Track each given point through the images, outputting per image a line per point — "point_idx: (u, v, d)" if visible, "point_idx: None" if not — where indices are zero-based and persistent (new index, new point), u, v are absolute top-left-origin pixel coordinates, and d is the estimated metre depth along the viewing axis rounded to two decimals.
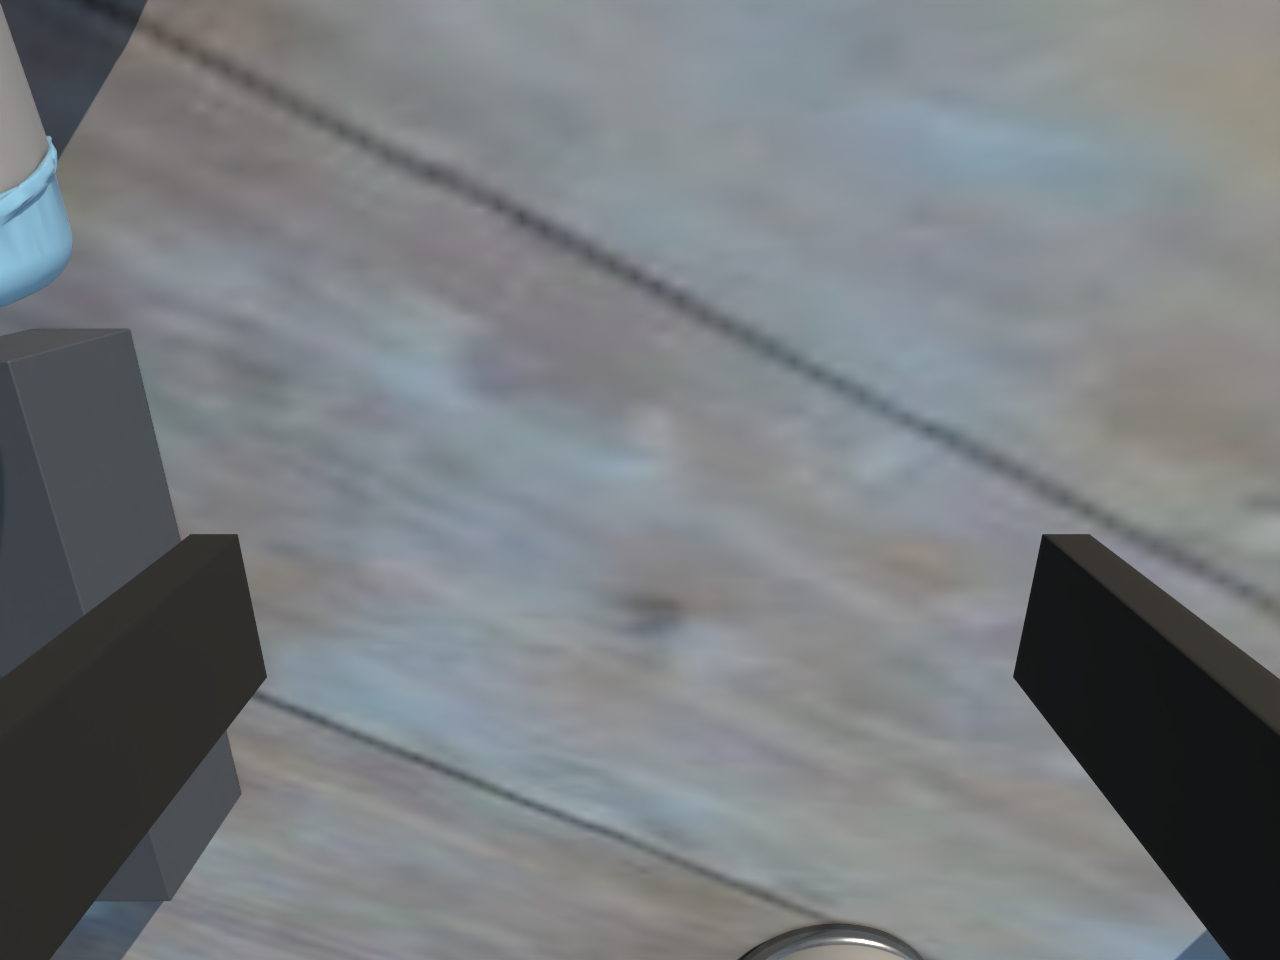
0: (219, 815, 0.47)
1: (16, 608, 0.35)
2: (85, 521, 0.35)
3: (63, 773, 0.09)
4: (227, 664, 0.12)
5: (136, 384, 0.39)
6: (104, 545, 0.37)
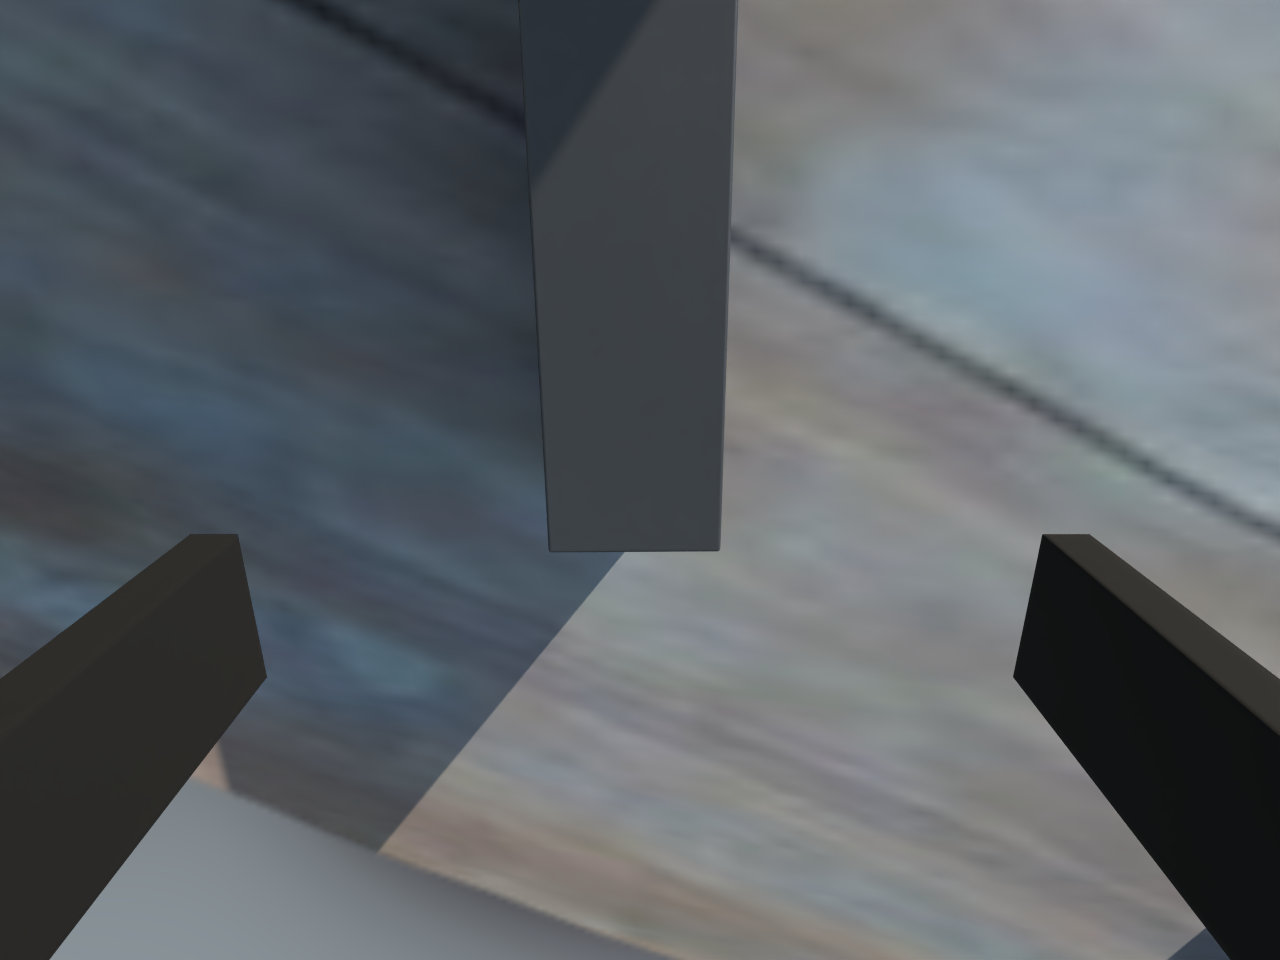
0: None
1: None
2: None
3: (62, 773, 0.09)
4: (227, 664, 0.12)
5: None
6: None
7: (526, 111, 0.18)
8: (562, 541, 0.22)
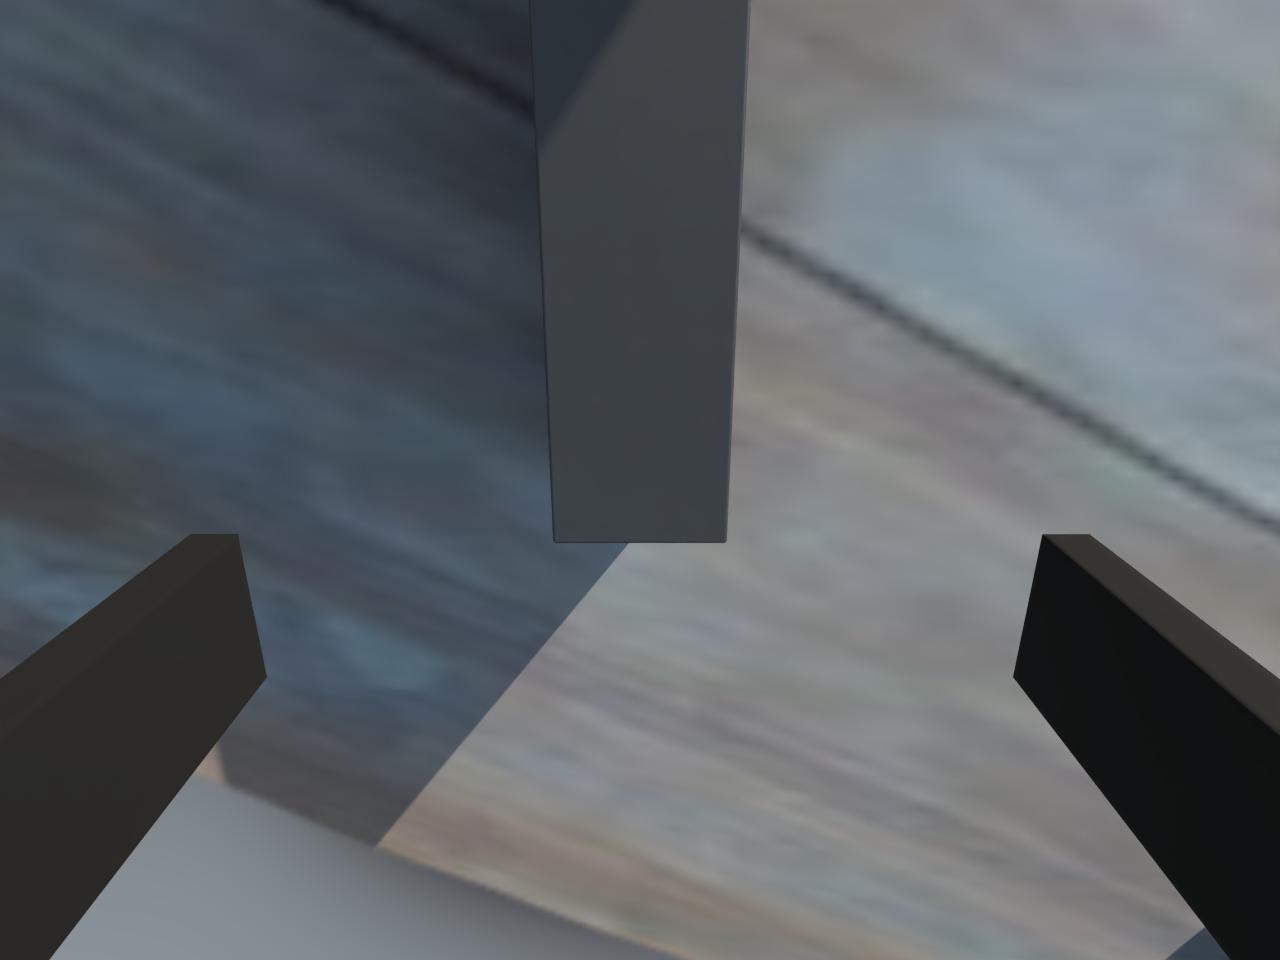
0: None
1: None
2: None
3: (63, 773, 0.09)
4: (227, 664, 0.12)
5: None
6: None
7: (535, 93, 0.18)
8: (567, 532, 0.22)
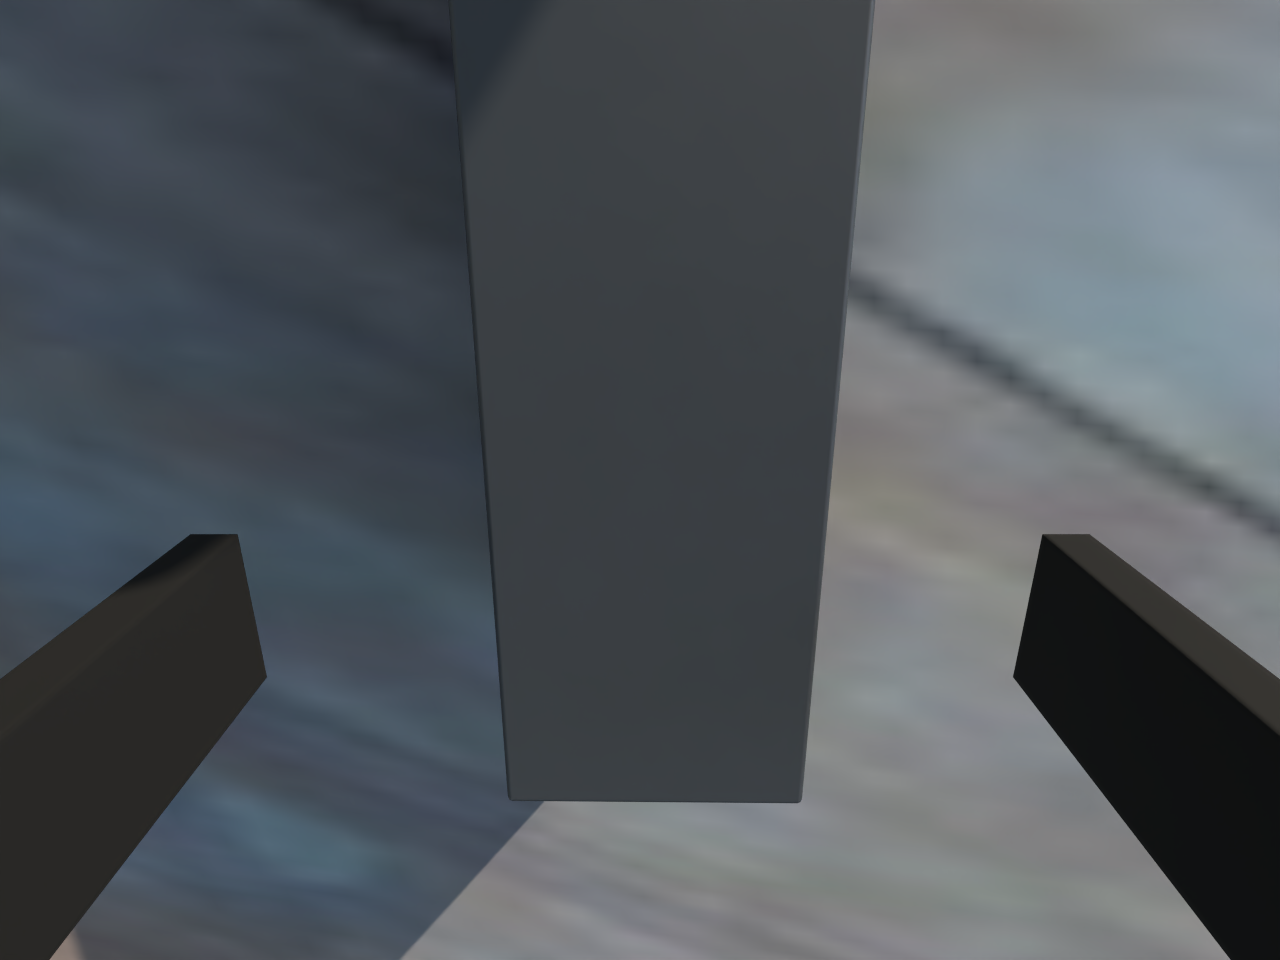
0: None
1: None
2: None
3: (63, 773, 0.09)
4: (227, 664, 0.12)
5: None
6: None
7: (453, 17, 0.09)
8: (531, 785, 0.13)
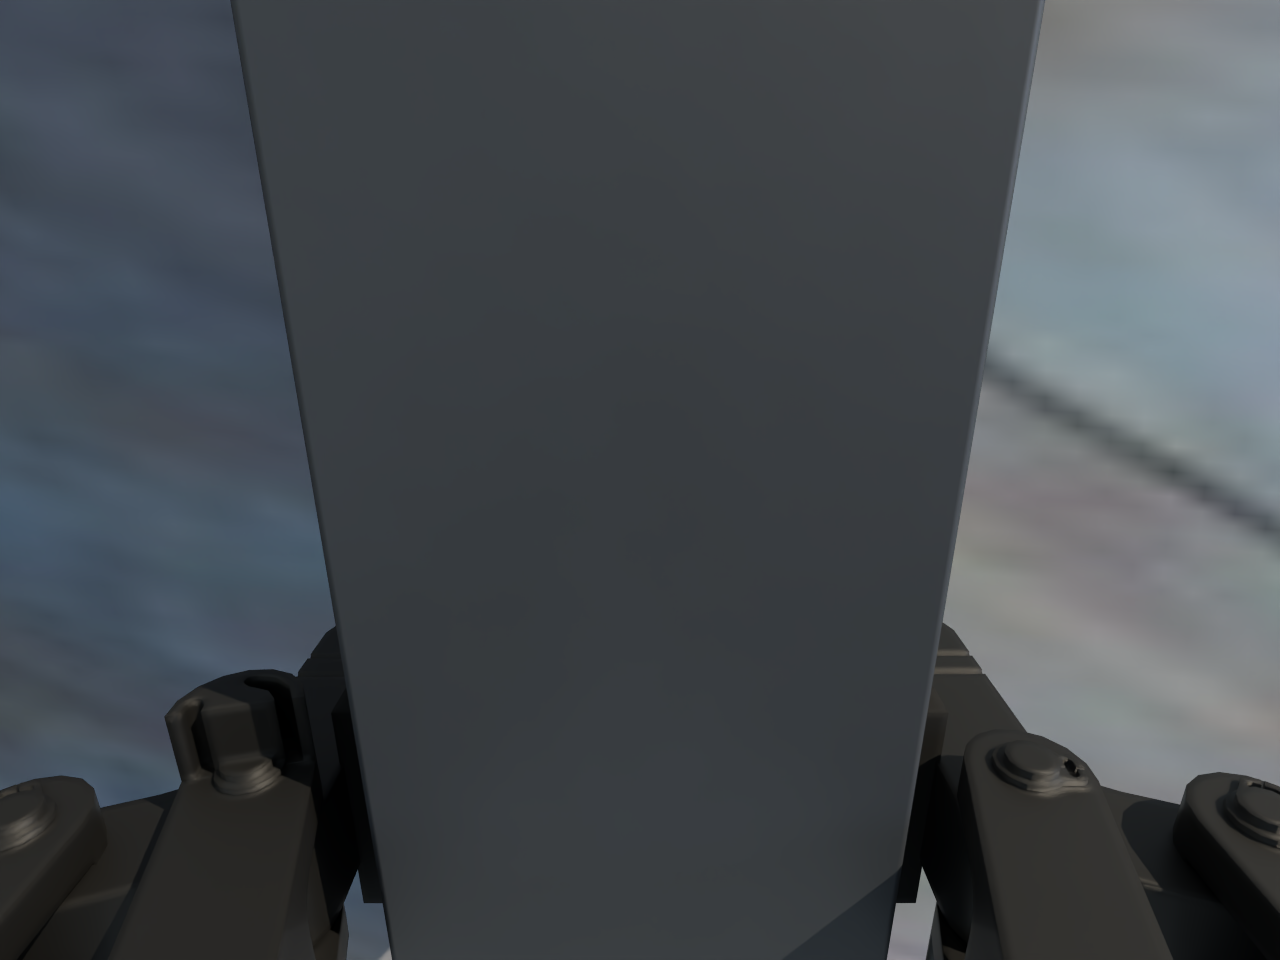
0: None
1: None
2: None
3: None
4: None
5: None
6: None
7: None
8: None
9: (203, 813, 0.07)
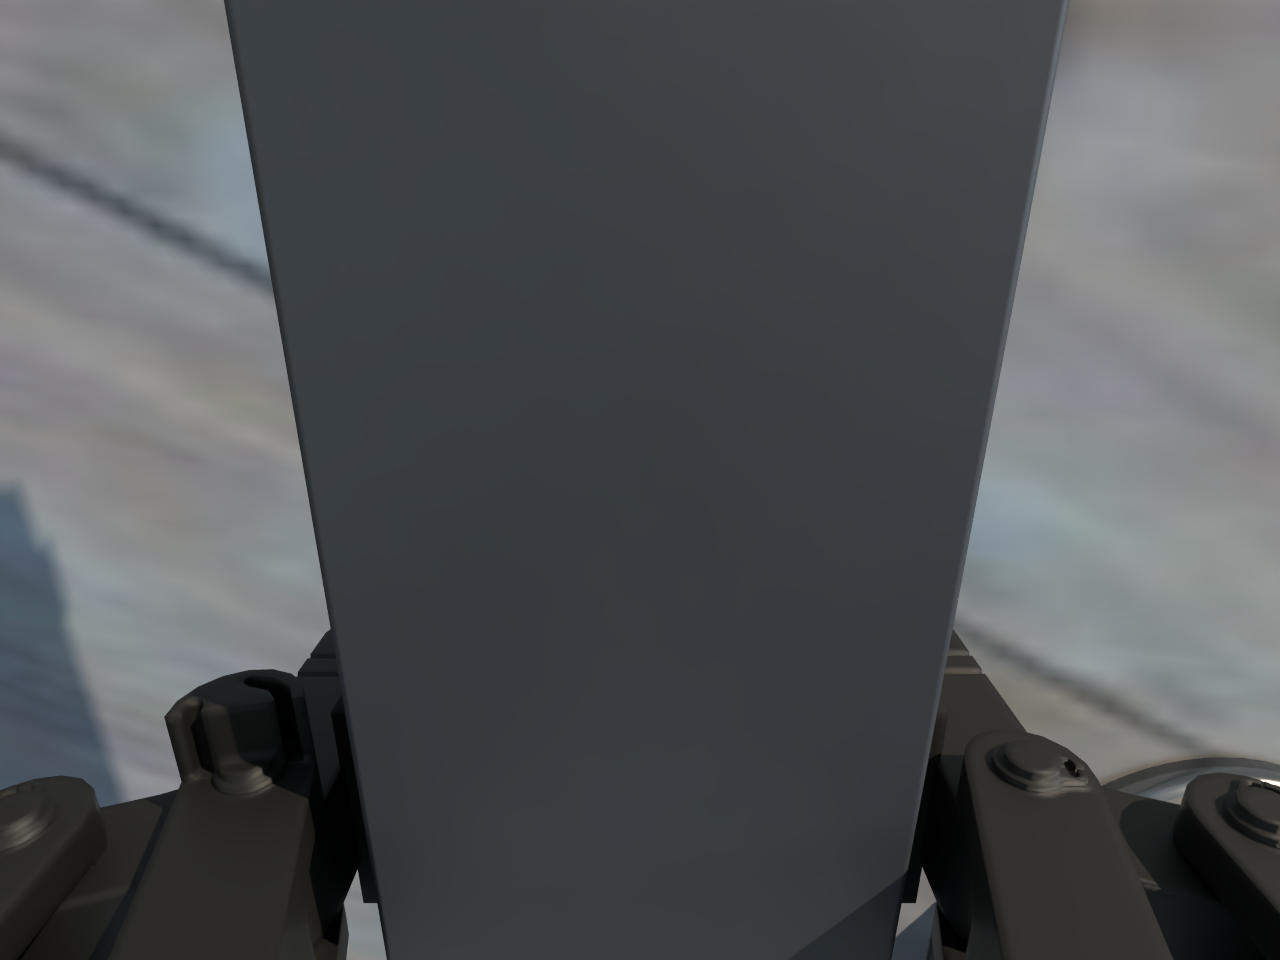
0: None
1: None
2: None
3: None
4: None
5: None
6: None
7: None
8: None
9: (203, 813, 0.07)
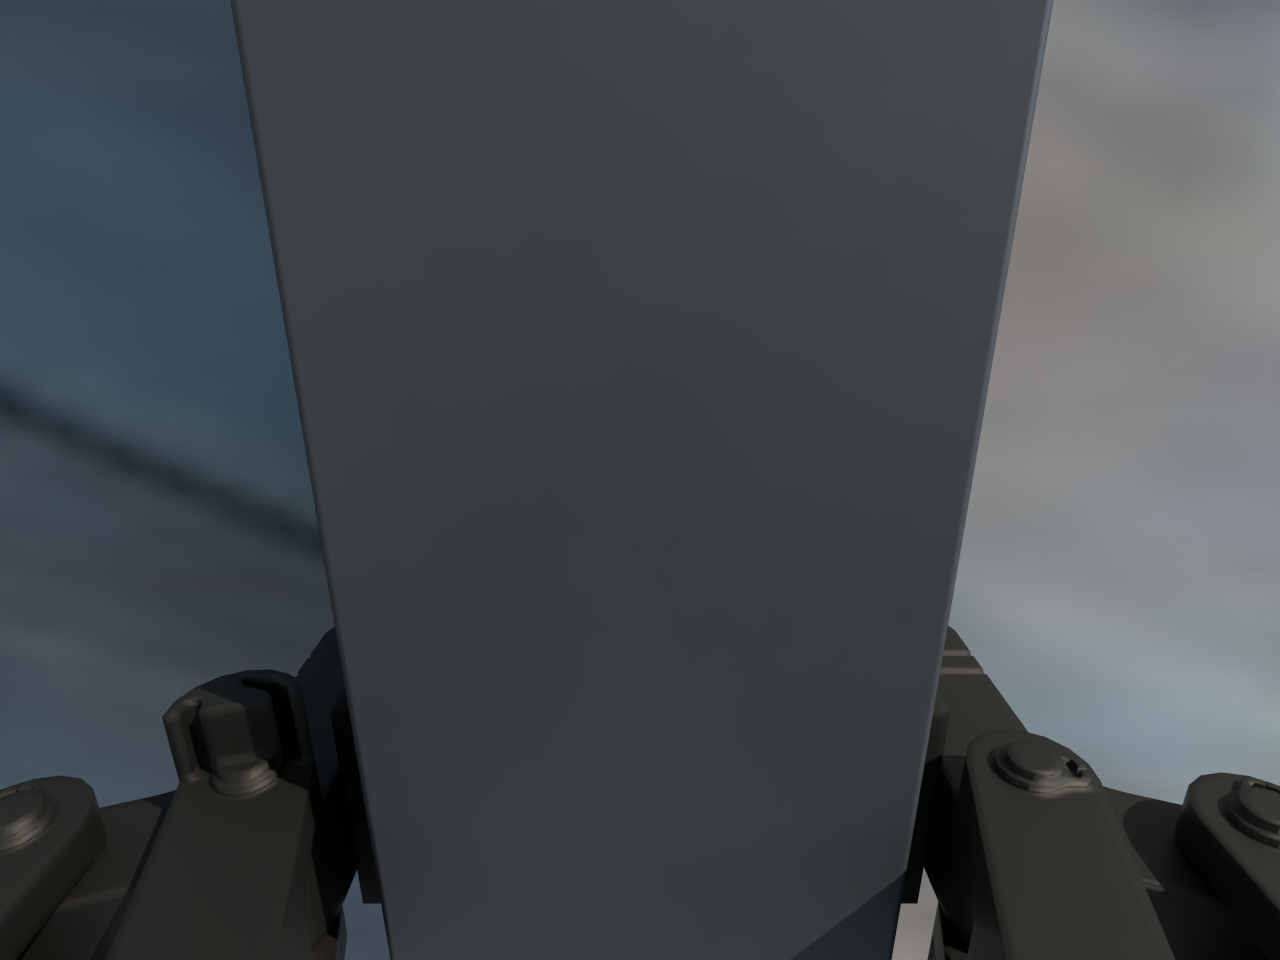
0: None
1: None
2: None
3: None
4: None
5: None
6: None
7: None
8: None
9: (201, 813, 0.07)
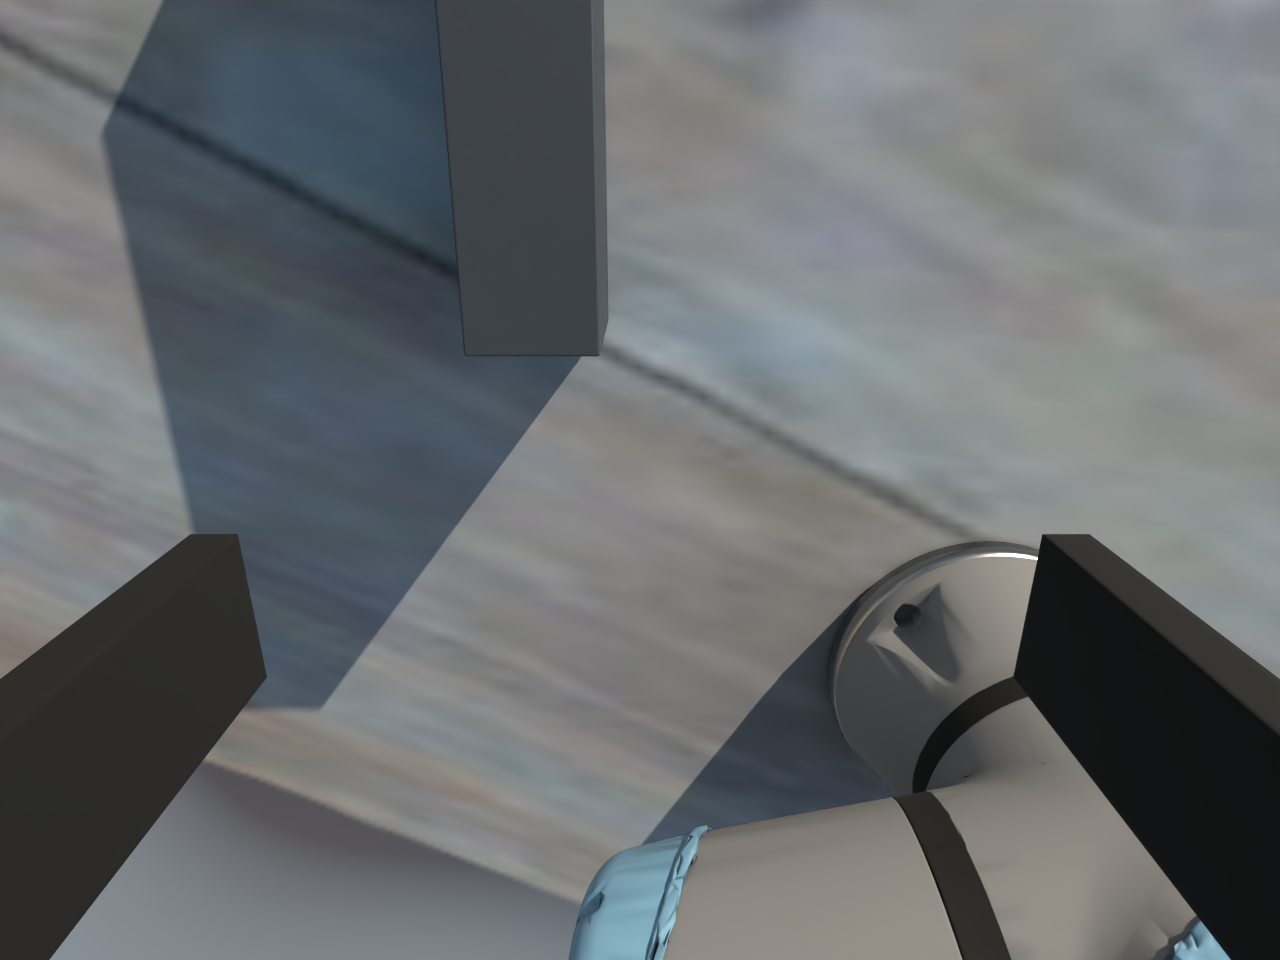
0: (605, 314, 0.33)
1: None
2: None
3: (63, 773, 0.09)
4: (227, 664, 0.12)
5: None
6: None
7: None
8: (475, 346, 0.28)
9: None
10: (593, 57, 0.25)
